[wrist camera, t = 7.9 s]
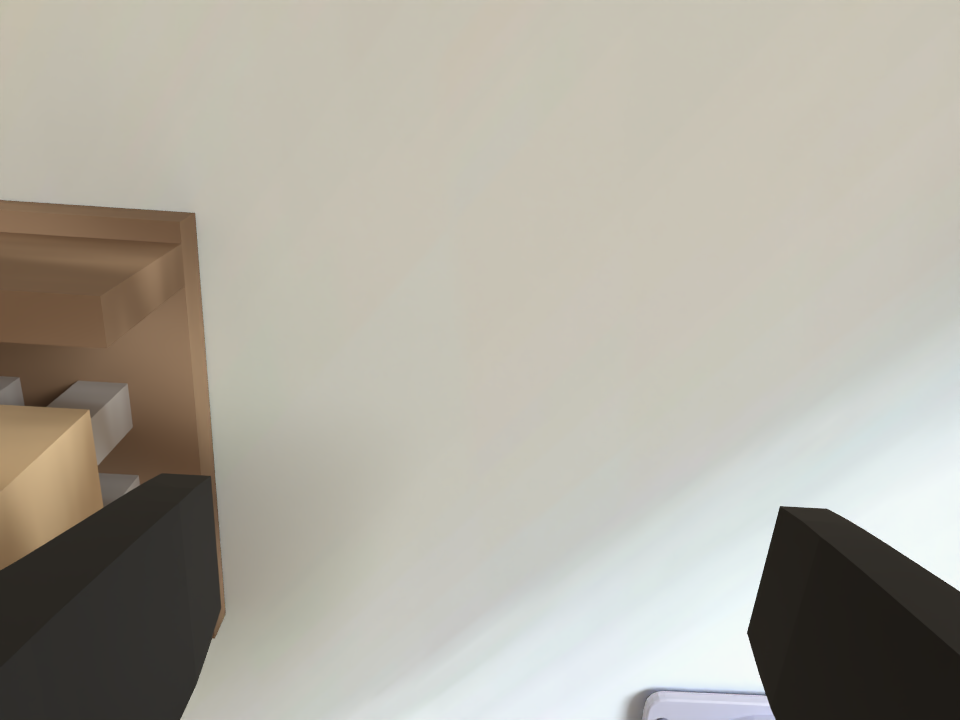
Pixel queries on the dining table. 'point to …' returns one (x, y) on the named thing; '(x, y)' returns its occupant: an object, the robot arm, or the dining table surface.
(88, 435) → the light wooden block
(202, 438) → the stand
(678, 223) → the dining table surface
